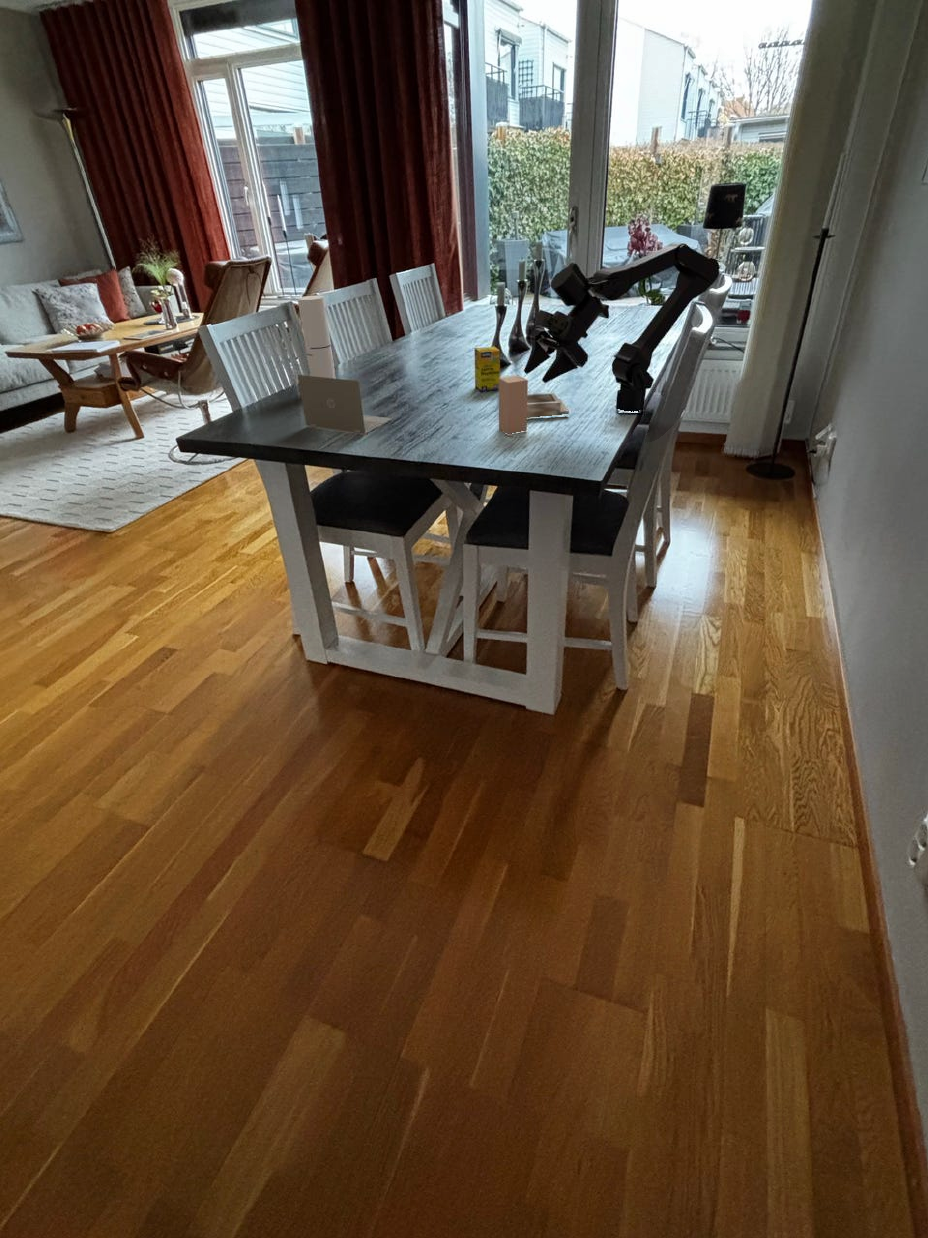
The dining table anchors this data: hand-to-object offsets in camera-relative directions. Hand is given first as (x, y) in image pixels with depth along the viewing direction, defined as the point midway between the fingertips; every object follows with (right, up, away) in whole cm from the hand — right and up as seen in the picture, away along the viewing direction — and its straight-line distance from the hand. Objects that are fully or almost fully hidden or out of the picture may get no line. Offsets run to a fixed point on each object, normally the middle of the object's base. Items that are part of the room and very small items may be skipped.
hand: (534, 376), depth 148 cm
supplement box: (-10, +10, +36) cm, 39 cm away
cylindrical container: (-58, +11, +41) cm, 71 cm away
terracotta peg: (-5, -11, +5) cm, 13 cm away
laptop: (-46, -7, +14) cm, 48 cm away
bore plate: (+3, -3, +16) cm, 17 cm away
